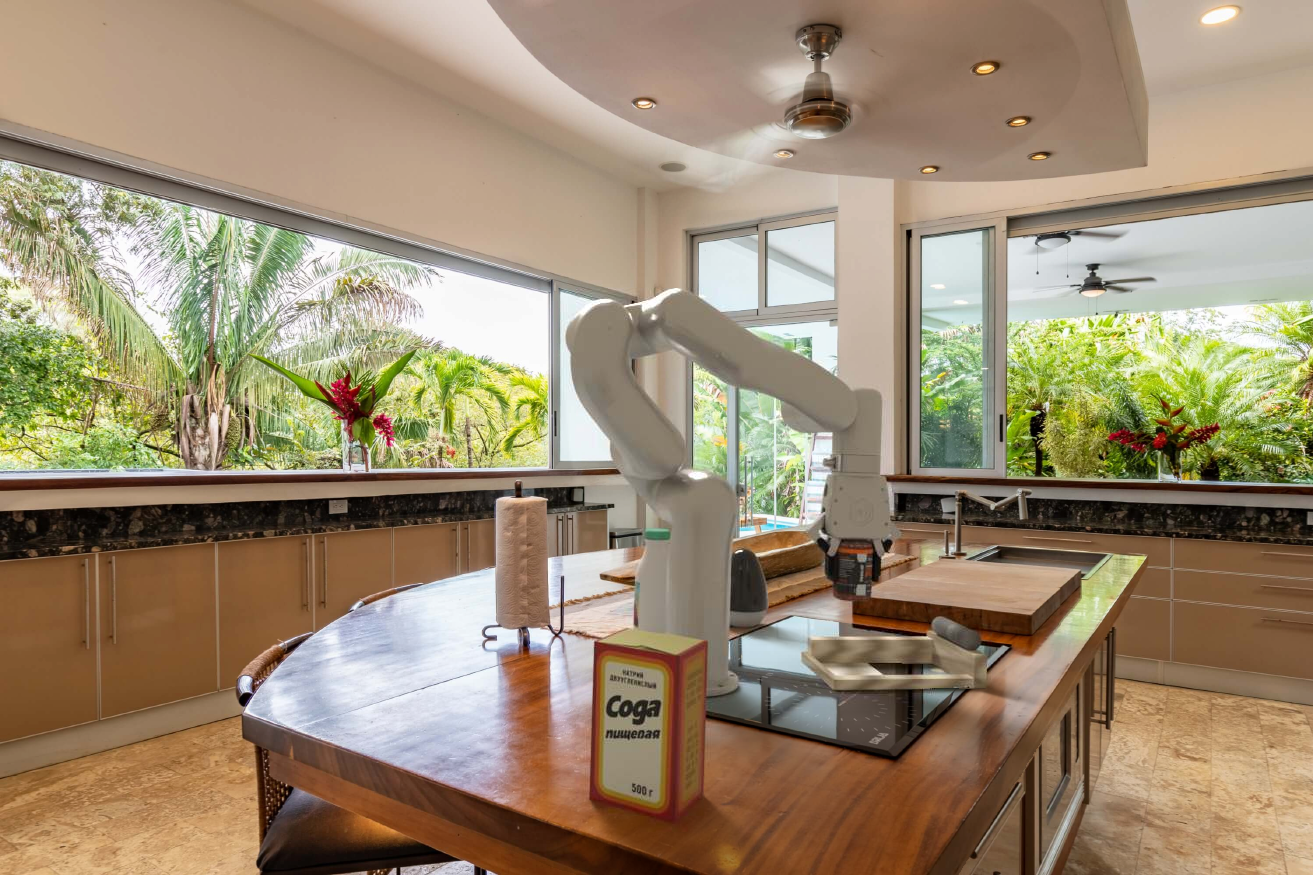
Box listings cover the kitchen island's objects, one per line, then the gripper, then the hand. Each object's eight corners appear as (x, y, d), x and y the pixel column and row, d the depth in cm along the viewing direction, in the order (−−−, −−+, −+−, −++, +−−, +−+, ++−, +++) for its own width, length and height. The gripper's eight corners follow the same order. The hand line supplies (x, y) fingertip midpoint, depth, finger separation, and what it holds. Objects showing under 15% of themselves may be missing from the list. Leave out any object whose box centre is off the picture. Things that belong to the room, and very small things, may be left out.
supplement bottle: (872, 603, 117) (874, 530, 117) (833, 601, 118) (835, 528, 118) (869, 596, 122) (871, 526, 123) (831, 594, 124) (833, 524, 124)
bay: (833, 689, 112) (835, 635, 112) (801, 660, 127) (802, 612, 127) (989, 687, 115) (990, 635, 115) (940, 659, 130) (941, 612, 130)
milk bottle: (683, 639, 138) (686, 529, 138) (661, 648, 132) (664, 533, 132) (648, 632, 142) (651, 526, 143) (624, 641, 136) (627, 529, 136)
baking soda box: (589, 798, 75) (594, 637, 76) (622, 774, 81) (626, 624, 81) (674, 823, 71) (680, 651, 71) (703, 795, 77) (708, 637, 77)
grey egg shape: (716, 617, 157) (718, 543, 157) (767, 620, 156) (769, 546, 156) (713, 628, 147) (715, 550, 147) (767, 632, 146) (770, 552, 146)
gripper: (810, 465, 115) (807, 584, 115) (918, 468, 118) (915, 585, 117) (795, 464, 123) (792, 575, 123) (897, 467, 125) (893, 576, 125)
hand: (852, 579), depth 120 cm, fingers closed on supplement bottle, 6 cm apart
